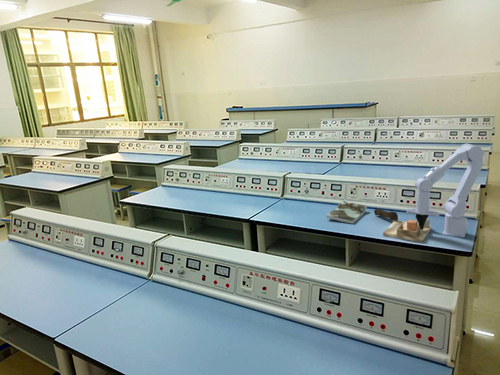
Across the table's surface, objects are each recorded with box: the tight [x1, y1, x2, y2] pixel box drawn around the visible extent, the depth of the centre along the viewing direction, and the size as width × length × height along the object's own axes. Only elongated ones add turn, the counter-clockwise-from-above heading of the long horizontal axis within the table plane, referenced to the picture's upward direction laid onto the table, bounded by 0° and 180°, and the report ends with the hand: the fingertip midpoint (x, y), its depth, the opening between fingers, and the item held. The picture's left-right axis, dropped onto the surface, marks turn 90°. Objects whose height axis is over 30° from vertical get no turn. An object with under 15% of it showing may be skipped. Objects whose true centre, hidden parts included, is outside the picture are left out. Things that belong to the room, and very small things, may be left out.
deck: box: [382, 220, 432, 243], centre depth 186 cm, size 18×20×5 cm
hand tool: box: [373, 208, 399, 222], centre depth 205 cm, size 19×4×5 cm, turn 12°
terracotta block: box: [406, 219, 418, 231], centre depth 185 cm, size 4×4×4 cm
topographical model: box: [326, 200, 368, 224], centre depth 217 cm, size 26×15×5 cm, turn 146°
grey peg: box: [424, 218, 431, 228], centre depth 187 cm, size 3×3×4 cm
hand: (421, 228), depth 183 cm, fingers closed
